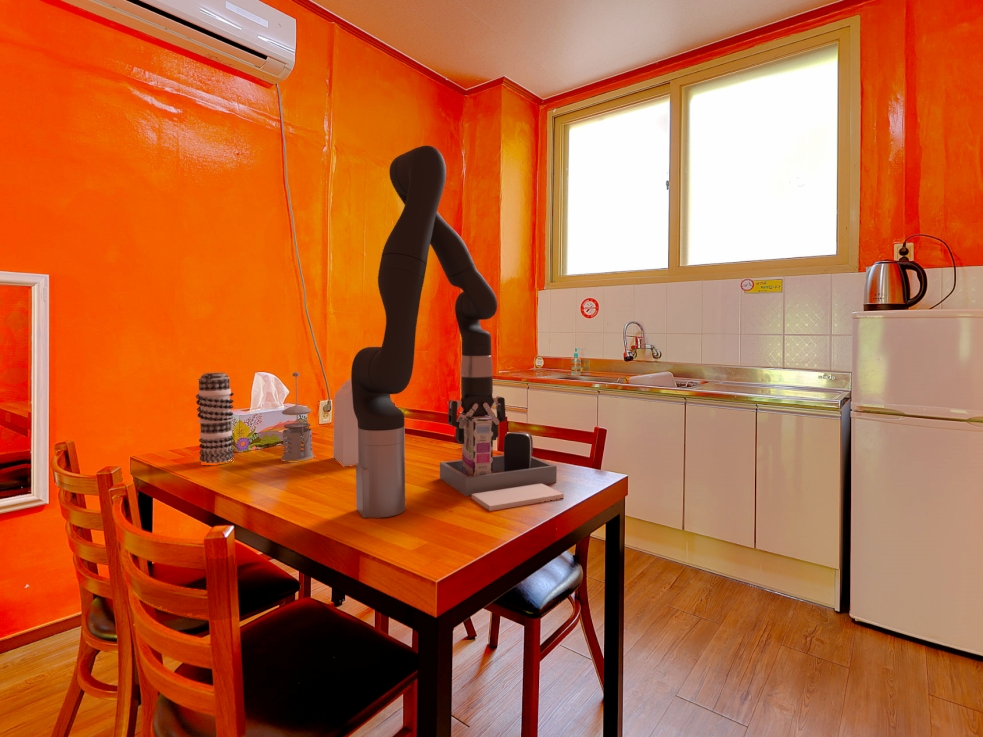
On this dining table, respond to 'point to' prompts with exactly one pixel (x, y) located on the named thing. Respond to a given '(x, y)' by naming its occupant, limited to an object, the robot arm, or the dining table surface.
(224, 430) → the decorative candle
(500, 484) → the bin
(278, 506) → the dining table surface
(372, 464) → the robot arm
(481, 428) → the candy bar box
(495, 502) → the board
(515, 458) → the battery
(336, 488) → the dining table surface
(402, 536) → the dining table surface
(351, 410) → the milk
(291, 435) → the french press
